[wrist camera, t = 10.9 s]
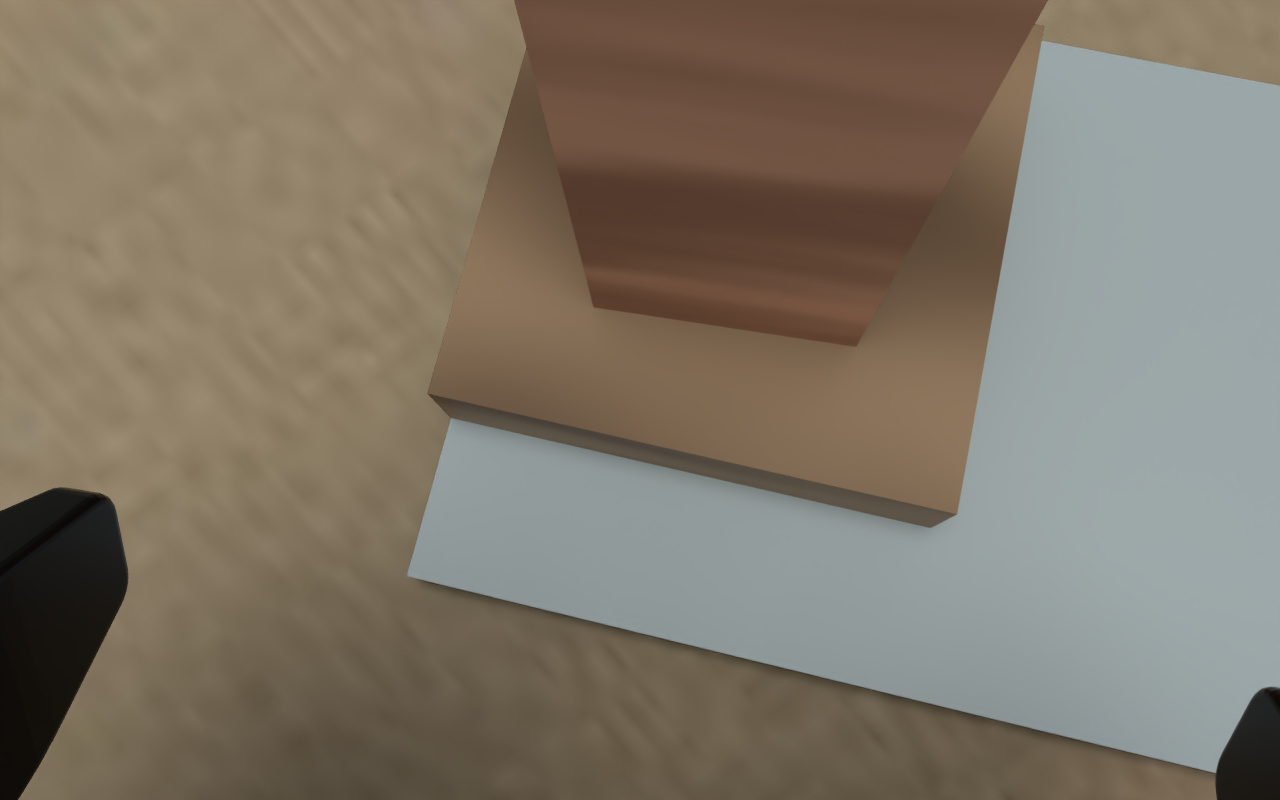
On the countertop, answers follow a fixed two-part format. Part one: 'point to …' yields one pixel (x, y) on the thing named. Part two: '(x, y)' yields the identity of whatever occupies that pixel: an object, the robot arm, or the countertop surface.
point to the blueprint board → (993, 462)
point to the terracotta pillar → (761, 145)
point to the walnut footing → (738, 342)
